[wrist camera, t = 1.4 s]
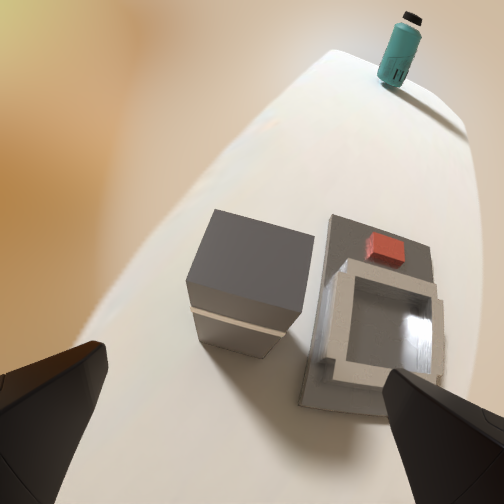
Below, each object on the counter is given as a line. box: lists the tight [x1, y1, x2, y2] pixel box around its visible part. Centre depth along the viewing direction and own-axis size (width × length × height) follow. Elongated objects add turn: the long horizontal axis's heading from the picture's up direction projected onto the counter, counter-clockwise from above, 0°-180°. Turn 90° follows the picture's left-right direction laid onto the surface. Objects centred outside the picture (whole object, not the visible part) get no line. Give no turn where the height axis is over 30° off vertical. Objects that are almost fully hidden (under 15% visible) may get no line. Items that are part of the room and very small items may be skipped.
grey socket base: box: [298, 214, 444, 417], centre depth 23 cm, size 18×12×3 cm, turn 166°
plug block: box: [186, 209, 315, 359], centre depth 18 cm, size 4×5×11 cm
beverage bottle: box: [377, 11, 422, 87], centre depth 44 cm, size 6×7×20 cm
